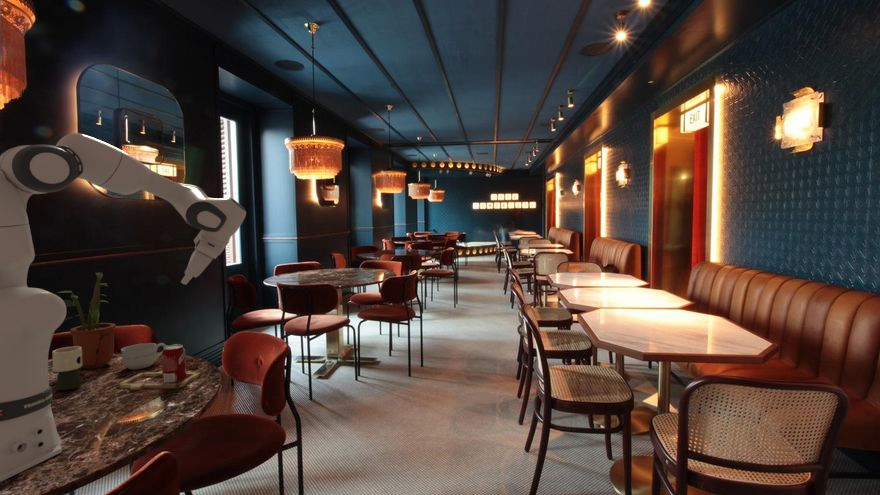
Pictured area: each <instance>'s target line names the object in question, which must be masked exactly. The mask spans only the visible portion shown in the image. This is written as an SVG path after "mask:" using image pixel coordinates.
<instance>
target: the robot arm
mask: <svg viewBox="0 0 880 495" xmlns="http://www.w3.org/2000/svg"><path fill="white" fill-rule="evenodd" d="M77 178H78V179H80V180H84V181H86V182H88V183H90V184H93V185H95V186H97V187H99V188H102V189H103V190H106V191H108V192H112V193H116V194H119V195H124V196H128V195H133V194H135V193H137V192H139V191H144V192H147V193H149V194H151V195H153V196H156V197H157V198H160V199H163V200H165V201H167V202H169V204H171V206H172V207H173V208H174V209H175V210H176V212H178V213H179V214H180V215H181V217H182V218H183V220H184V221H185V222H186V223H187V224H188V225H189V226H190V227H192V228H195V229H197V230H200V231H199V232H198V234H197V235H196V237H195V238H194V239H193V242H194V244H195V246H194V251H193V252H192V254H191V256H190V258H189V261H188V264H187V267H186V269H185V270H184V276H183V277H182V278H181V281H180V284H183V285H186V286H187V284H188V283H189V282H190V281H191V280H192V278H197V277H199V276H200V275H201V274H203V272H204V270H205V269H207V267H208V266H209V265H210V263H212V261H213V260H215V259H217V257H218V256H220V255H221V254H222V252H223V251H224V250H225V248H226V247H227V246H228V244H229V242H230V239H231V237H232V236H233V235H234V234H236V233H237V232H238V230H239V229H240V227H241V225H242V224H243V222H244V220H245V218H246V215H247V211H246V209H245V207H243V206H242V205H241V204H240V203H239V202H238V201H237V200H236V199H234V198H232V197H230V196H227V197H225V198H214V197H209V196H208V195H207V194H206V193H205V190H203V189H202V188H201V187H200V186H197V185H194V184H189V183H181V182H177V181H174V180H172V179H170V178H168V177H165V176H163V175H162V174H160V173H158V172H156V171H154V170H152V169H150V168H149V167H147V165H145V164H144V163H143V162H142V161H140V160H139V159H137V158H135V157H134V156H133V155H132V154H129V153H127V152H126V151H124V150H122V149H120V148H118V147H116V146H115V145H111V143H107V142H105V141H102V140H100V139H97V138H95V137H93V136H90V135H87V134H83V133H80V132H73V133H69V134H66V135H65V136H64V135H63V137H61V139H59V140H58V142H57V143H56V145H55V144H54V145H52V144H51V145H50V144H26V145H25V144H24V145H18V146H15V147H12V148H9V149H5V150H3V151H2V152H0V483H2V482H3V481H5V480H7V479H10V478H11V477H14V476H15V475H17V474H19V473H22V472H24V471H26V470H28V469H29V468H32V467H34V466H36V465H38V464H40V463H42V462H45V461H47V460H49V459H50V458H52V457H54V456H56V455H59V454H60V453H62V452H63V447H62V439H61V437H60V435H59V432H58V430H57V426H56V422H55V417H54V414H53V410H52V404H51V403H52V402H53V396H54V395H53V392H52V391H53V390H52V386H51V385H50V381H49V379H50V378H49V351H50V347H51V344H52V340H53V337H54V333H55V331H56V330H57V329H59V327H60V326H61V325H62V324H63V323H64V321H65V320H66V316H67V307H66V305H65V303H64V300H63V299H62V298H61V297H60V296H58V295H57V294H55V293H53V292H50V291H48V290H45V289H44V288H39V287H38V288H37V287H28V284H27V283H28V281H27V279H28V272H29V267H30V266H31V264H32V263H33V262H34V260H35V257H36V253H35V248H34V243H33V239H32V237H33V236H32V234H31V233H32V232H31V228H30V224H29V223H30V222H29V217H28V213H27V204H28V200H29V199H30V197H31V196H32V195H40V194H41V195H42V194H49V193H56V192H60V191H62V190H64V189H65V188H67V187H69V185H71V184H72V183H73V182H74V181H75V180H76V179H77Z"/></svg>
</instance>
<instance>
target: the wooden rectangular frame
mask: <svg viewBox="0 0 880 495" xmlns="http://www.w3.org/2000/svg"><path fill="white" fill-rule="evenodd" d="M200 375H201V376H202V373H201V372H200V371H199V372H191V371H190V372H188V371H186V379H185V380H183V381H181V382H180V383H176V384H166V383H151V382H149V383H147V382H135V381H137V380H140V379H141V378H143V377H161V378H162V369H161V370H159V371H141V372H139V373H138V374H136V375H133V376H131V377H129V378H127V379H125V380H123V381H121V382H118V383H116V384H115V388H116V389H130V391H140V390H143V389H176V390H177V389H181V388H182V387H184V386H186V385H188V384H190V383H191V382H193V381H194V380H196V379H198V378H200V377H201V376H200ZM134 382H135V383H134Z"/></svg>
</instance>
